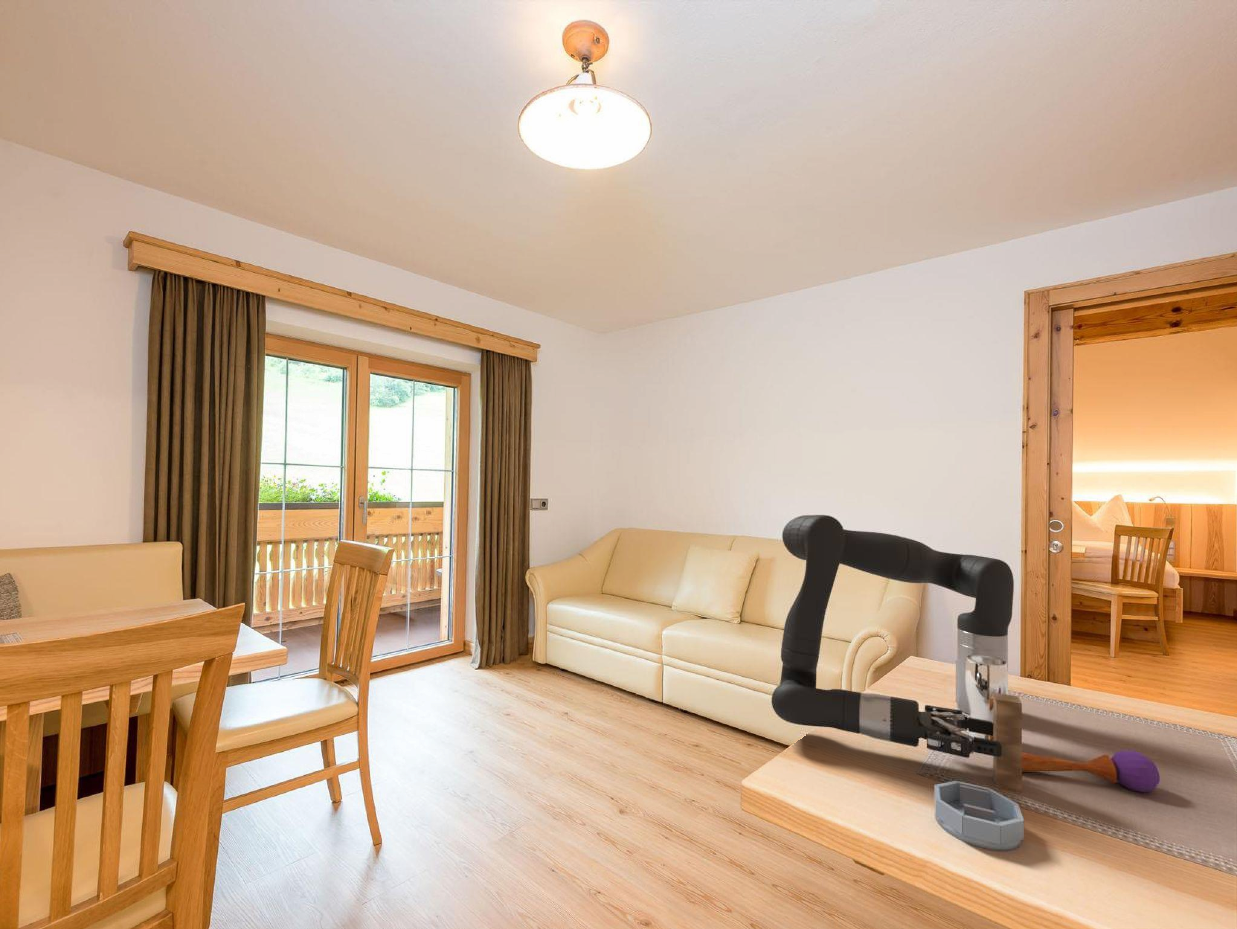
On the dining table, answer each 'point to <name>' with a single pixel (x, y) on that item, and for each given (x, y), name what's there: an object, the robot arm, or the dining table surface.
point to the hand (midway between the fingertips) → (997, 738)
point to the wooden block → (1008, 741)
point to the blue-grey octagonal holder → (978, 815)
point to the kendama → (1103, 768)
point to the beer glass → (984, 686)
